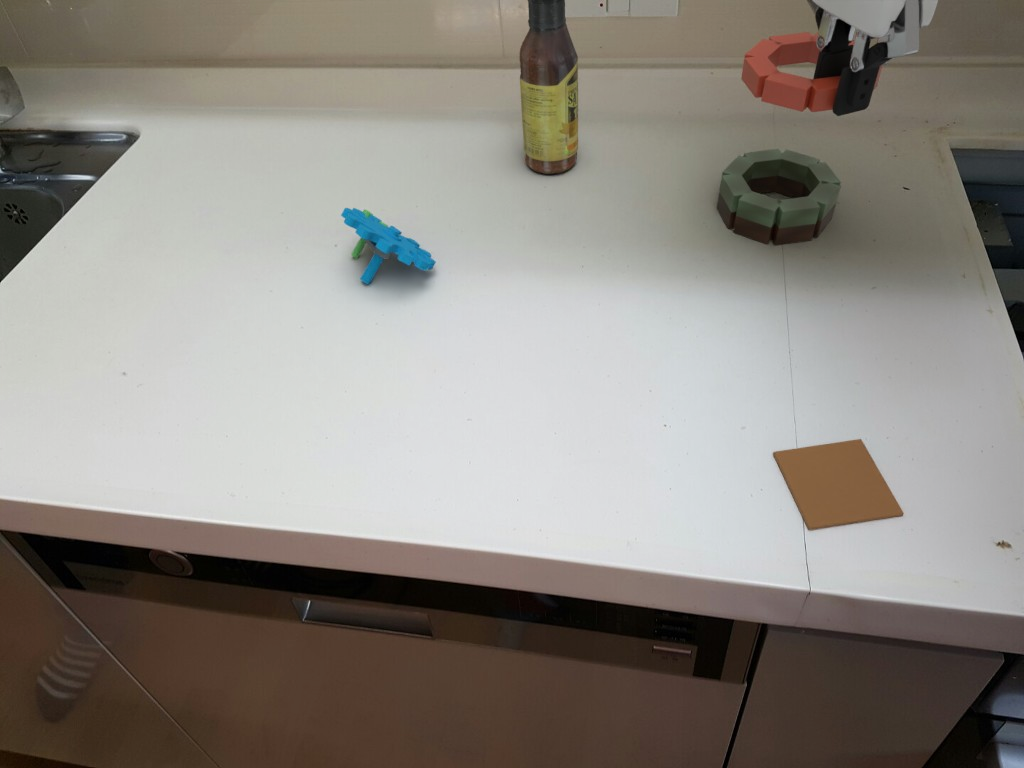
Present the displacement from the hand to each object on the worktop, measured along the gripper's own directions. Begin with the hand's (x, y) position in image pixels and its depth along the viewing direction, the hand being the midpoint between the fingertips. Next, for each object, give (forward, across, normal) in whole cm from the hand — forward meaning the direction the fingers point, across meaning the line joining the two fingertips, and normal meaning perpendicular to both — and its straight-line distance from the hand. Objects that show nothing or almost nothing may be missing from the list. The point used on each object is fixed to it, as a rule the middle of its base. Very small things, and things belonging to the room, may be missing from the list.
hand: (838, 101), depth 67 cm
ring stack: (+15, +6, 0) cm, 16 cm away
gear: (+15, +13, +39) cm, 44 cm away
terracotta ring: (0, +4, 0) cm, 5 cm away
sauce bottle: (+15, +25, +17) cm, 34 cm away
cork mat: (+15, -26, +14) cm, 33 cm away
